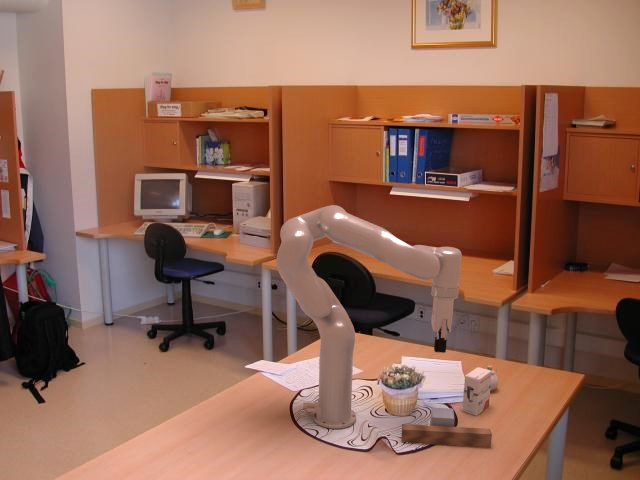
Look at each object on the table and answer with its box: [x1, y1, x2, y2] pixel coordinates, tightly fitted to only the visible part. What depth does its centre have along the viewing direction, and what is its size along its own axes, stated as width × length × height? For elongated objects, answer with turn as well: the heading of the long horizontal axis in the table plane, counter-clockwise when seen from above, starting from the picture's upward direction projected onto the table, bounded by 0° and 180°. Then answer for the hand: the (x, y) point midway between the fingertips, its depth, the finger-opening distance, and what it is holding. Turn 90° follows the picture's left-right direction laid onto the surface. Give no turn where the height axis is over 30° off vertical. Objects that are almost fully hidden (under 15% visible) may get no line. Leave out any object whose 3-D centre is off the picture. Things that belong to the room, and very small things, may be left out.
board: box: [401, 423, 493, 449], centre depth 198 cm, size 24×3×4 cm, turn 86°
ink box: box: [461, 367, 492, 417], centre depth 216 cm, size 9×5×12 cm, turn 141°
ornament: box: [486, 363, 499, 392], centre depth 229 cm, size 6×7×10 cm
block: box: [429, 406, 455, 427], centre depth 203 cm, size 6×6×6 cm
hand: (439, 351), depth 209 cm, fingers closed
